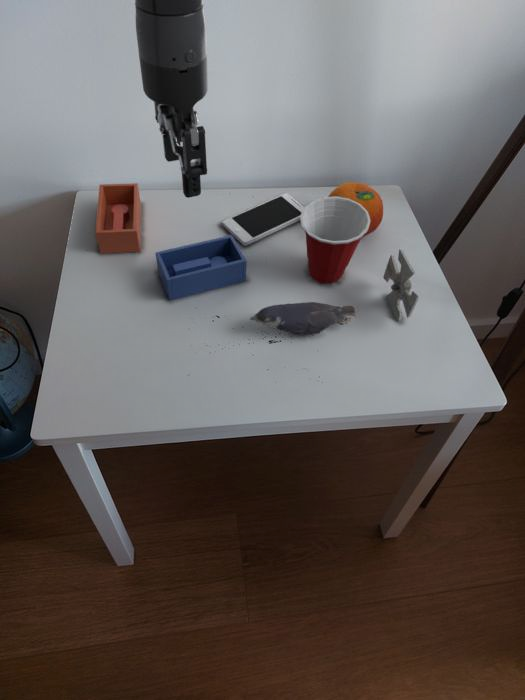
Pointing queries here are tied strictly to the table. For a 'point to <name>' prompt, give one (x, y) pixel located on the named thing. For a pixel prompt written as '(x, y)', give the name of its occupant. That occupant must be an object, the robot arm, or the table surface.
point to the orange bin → (104, 224)
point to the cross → (400, 285)
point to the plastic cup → (332, 235)
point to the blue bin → (205, 277)
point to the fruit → (363, 201)
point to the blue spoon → (197, 265)
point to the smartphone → (264, 219)
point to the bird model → (304, 317)
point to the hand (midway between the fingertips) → (182, 176)
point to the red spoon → (120, 216)
